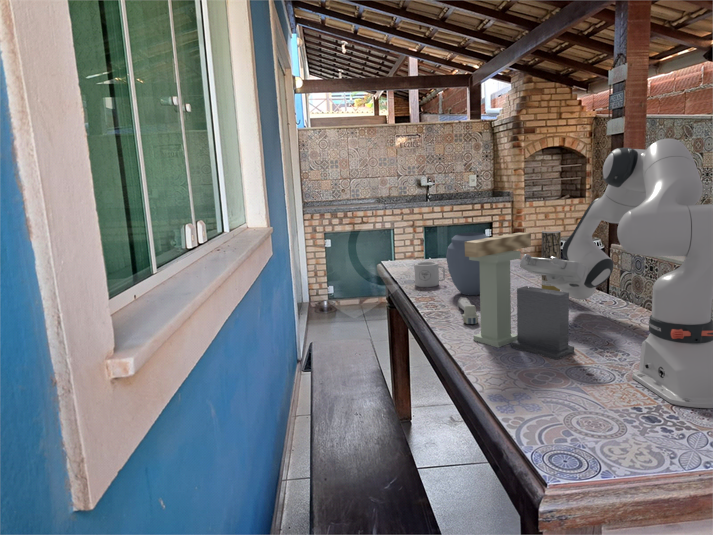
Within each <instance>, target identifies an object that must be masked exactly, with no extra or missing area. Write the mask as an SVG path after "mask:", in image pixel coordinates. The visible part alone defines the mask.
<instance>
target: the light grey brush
mask: <svg viewBox="0 0 713 535" xmlns="http://www.w3.org/2000/svg"><path fill="white" fill-rule="evenodd" d="M457 307H458V308H459V309H461V310H463V311H464V312H463V314H461V317H462V319H463V321H462V323H463V322H464V323H463V324H466V325H476V324H479V318H480V315H479V314H478V313H477V308H476V305H475V304H474V305H473V304H472V303H471V300H470V299H468V297H462V296H461V297H459V298H458V299H457Z"/></svg>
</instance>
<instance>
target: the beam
mask: <svg viewBox="0 0 713 535" xmlns="http://www.w3.org/2000/svg"><path fill="white" fill-rule="evenodd" d="M530 247H532V233H531V232H521V231H519V232H515V233H508V234H503V235H502V234H501V235H498V236H497V235H496V236H491V237H489V238H484V239H479V240H473V241H467V242H465V256H467V257H476V258H477V257H482V256H487V255H491V254H496V253H501V252H506V251H511V250H512V251H517V250H520V249H525V248H530Z"/></svg>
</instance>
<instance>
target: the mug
mask: <svg viewBox="0 0 713 535" xmlns="http://www.w3.org/2000/svg"><path fill="white" fill-rule="evenodd" d="M413 266H414V267H413V268H414V286H416V287H419V288H433V287H437V286H439V285H440V282H443V281H445V279H446V269H445V266H442V265H439V262H436V261H427V260H426V261H418V262H415V263H414V265H413ZM439 268H441V269H442V276H443V278H442V279H441V278H440V276H439V275H440V274H439V270H440V269H439Z"/></svg>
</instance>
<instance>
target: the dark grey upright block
mask: <svg viewBox="0 0 713 535" xmlns="http://www.w3.org/2000/svg"><path fill="white" fill-rule="evenodd" d="M569 304H570V296H569V293H568V292H562V290H560V291H555V290H548V289H542V287H535V286H528V285H525V286H522V287H519V288H518V287H517V288H516V306H517V307H516V319H517V320H516V322H517V323H516V326H517V327H516V328H517V330H516V332H517V334H516V335H517V340H516V341H513V342H511V343H510V344H511V348H512V349H517V350H520V351H522V352H523V351H524V352H526V353H531V354H535V355H537V356H542V357H546V358H548V359H553V360H559V359H562V358H564V357H566V356H568V355H569V356H570V355H572V354H573V353H575V346H573V345H569V324H570V320H569V319H570V318H569V317H570V316H569V315H570V309H569V306H570V305H569Z"/></svg>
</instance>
